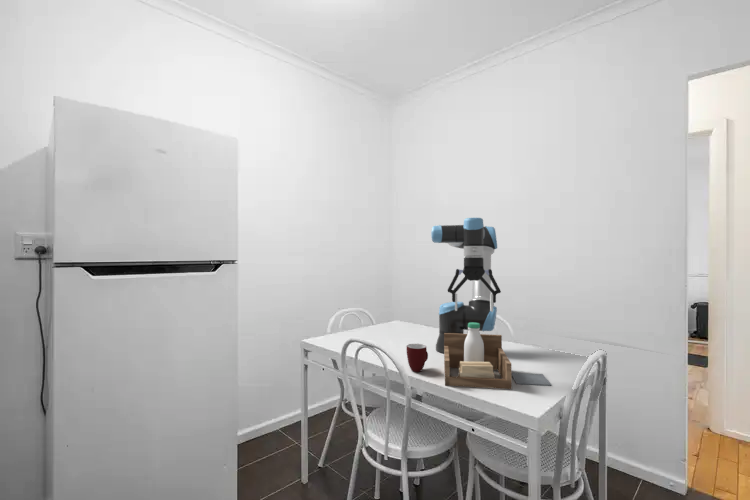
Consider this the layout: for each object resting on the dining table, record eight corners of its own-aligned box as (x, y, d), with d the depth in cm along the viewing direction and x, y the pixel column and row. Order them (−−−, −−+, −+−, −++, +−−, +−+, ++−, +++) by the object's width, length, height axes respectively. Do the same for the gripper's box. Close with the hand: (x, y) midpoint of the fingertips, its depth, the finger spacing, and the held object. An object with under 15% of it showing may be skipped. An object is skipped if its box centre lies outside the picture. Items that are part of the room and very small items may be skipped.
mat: (510, 373, 149) (510, 372, 149) (542, 374, 147) (542, 373, 147) (516, 384, 137) (516, 382, 137) (551, 385, 135) (551, 384, 135)
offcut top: (459, 367, 142) (459, 361, 142) (489, 368, 141) (489, 361, 141) (462, 372, 136) (462, 365, 136) (493, 373, 136) (493, 366, 136)
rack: (444, 366, 158) (444, 333, 158) (501, 368, 154) (501, 334, 154) (445, 385, 136) (444, 346, 136) (511, 389, 132) (511, 349, 132)
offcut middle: (458, 374, 142) (458, 367, 142) (491, 375, 141) (491, 368, 141) (460, 379, 137) (460, 372, 137) (494, 380, 135) (494, 373, 135)
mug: (417, 364, 160) (417, 341, 160) (433, 368, 155) (433, 344, 155) (402, 370, 152) (402, 346, 152) (419, 375, 147) (419, 349, 147)
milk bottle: (485, 377, 144) (484, 325, 144) (464, 376, 146) (464, 324, 145) (483, 371, 152) (483, 321, 151) (463, 370, 153) (463, 321, 153)
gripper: (441, 257, 147) (441, 311, 147) (508, 257, 142) (508, 313, 142) (441, 256, 154) (441, 308, 154) (504, 256, 150) (505, 309, 150)
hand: (473, 310), depth 148 cm, fingers open, 13 cm apart
